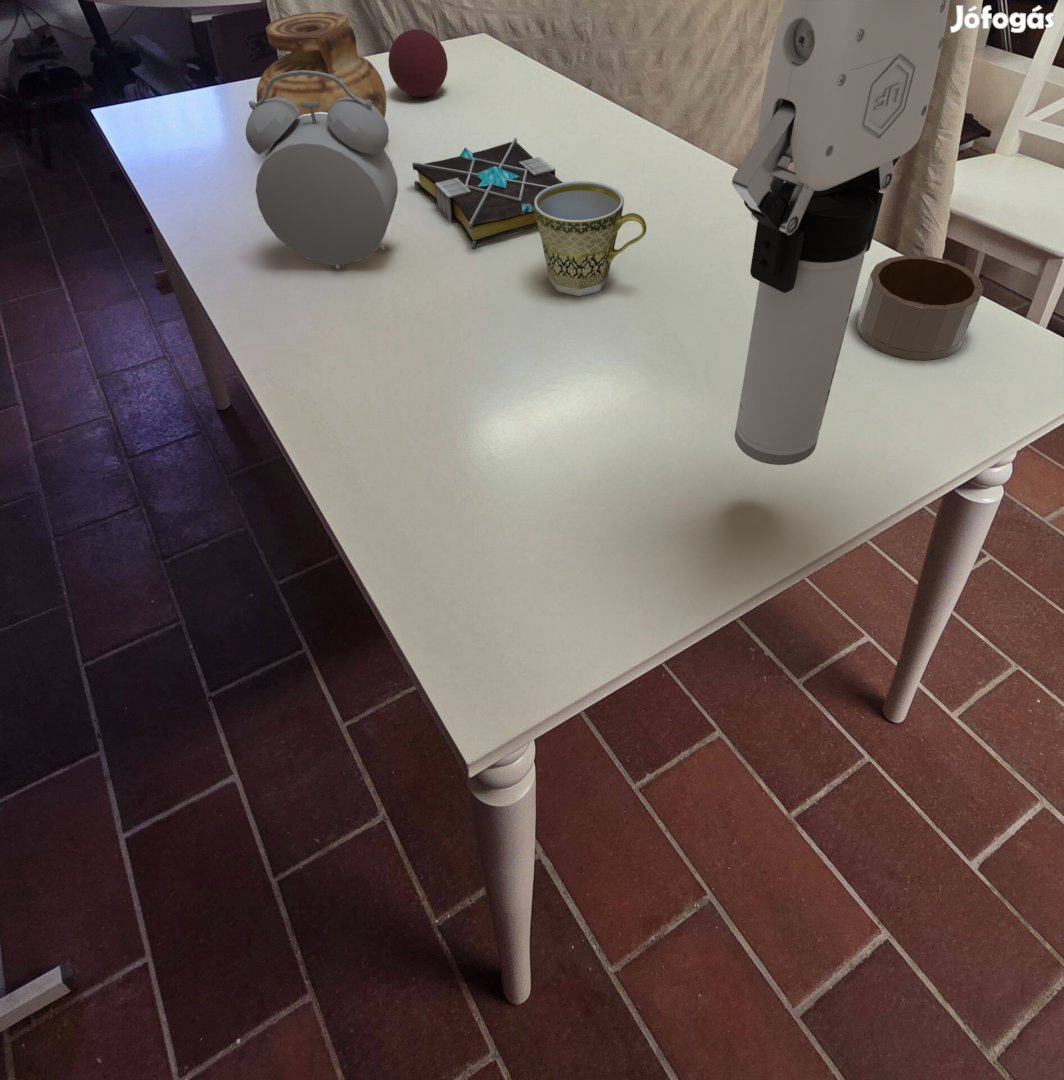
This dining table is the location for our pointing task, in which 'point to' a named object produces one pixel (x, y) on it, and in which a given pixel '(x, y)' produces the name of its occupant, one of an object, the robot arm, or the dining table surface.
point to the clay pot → (319, 62)
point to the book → (488, 189)
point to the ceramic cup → (581, 233)
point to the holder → (918, 306)
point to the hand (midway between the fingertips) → (810, 262)
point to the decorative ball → (418, 63)
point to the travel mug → (803, 330)
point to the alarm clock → (324, 174)
